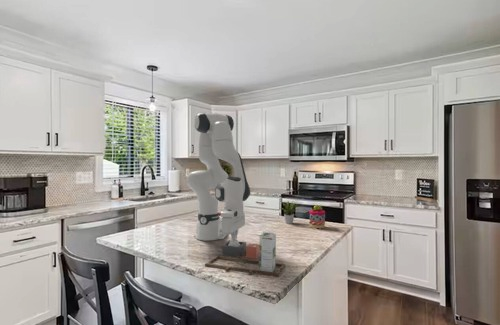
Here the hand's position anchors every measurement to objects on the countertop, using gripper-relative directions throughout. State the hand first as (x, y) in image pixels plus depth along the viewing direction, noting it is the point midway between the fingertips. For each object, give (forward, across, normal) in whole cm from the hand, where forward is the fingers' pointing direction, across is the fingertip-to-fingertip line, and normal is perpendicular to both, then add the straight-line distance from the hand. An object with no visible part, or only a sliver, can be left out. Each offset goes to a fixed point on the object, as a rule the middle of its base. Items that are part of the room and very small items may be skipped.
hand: (234, 239), depth 136 cm
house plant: (+7, -72, +11) cm, 73 cm away
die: (+7, +1, +10) cm, 12 cm away
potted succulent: (+7, -68, +31) cm, 75 cm away
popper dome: (+5, 0, 0) cm, 5 cm away
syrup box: (+7, +14, +21) cm, 26 cm away
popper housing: (+7, 0, 0) cm, 7 cm away
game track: (+7, +14, +11) cm, 19 cm away
